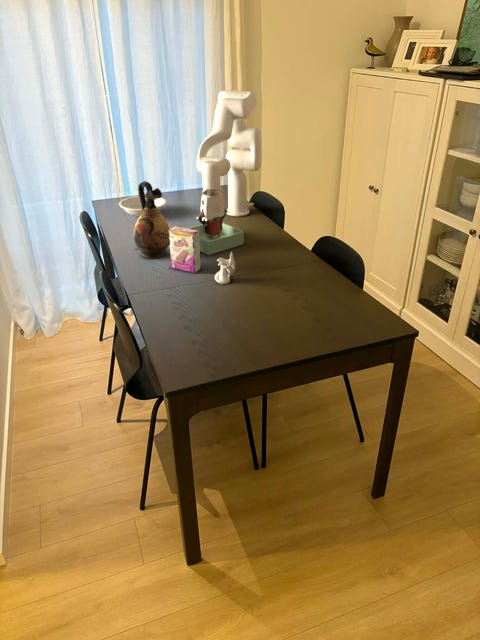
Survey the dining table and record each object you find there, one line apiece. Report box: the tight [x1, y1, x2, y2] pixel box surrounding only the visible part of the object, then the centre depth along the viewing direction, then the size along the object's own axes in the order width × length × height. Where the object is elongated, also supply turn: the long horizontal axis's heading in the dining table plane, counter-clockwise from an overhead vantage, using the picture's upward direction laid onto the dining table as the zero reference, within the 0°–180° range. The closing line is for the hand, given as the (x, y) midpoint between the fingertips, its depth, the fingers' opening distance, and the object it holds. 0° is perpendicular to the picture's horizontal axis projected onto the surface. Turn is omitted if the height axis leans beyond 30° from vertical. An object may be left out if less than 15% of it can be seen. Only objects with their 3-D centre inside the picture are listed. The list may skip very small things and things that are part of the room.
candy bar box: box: [169, 225, 202, 274], centre depth 192 cm, size 11×5×16 cm, turn 65°
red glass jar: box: [205, 216, 220, 240], centre depth 216 cm, size 7×7×10 cm
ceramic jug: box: [132, 180, 170, 259], centre depth 201 cm, size 17×15×30 cm
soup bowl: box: [118, 195, 168, 218], centre depth 250 cm, size 24×24×7 cm
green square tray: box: [187, 222, 245, 256], centre depth 218 cm, size 20×20×6 cm
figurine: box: [214, 251, 236, 285], centre depth 182 cm, size 11×8×12 cm
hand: (212, 231), depth 217 cm, fingers closed on red glass jar, 6 cm apart
